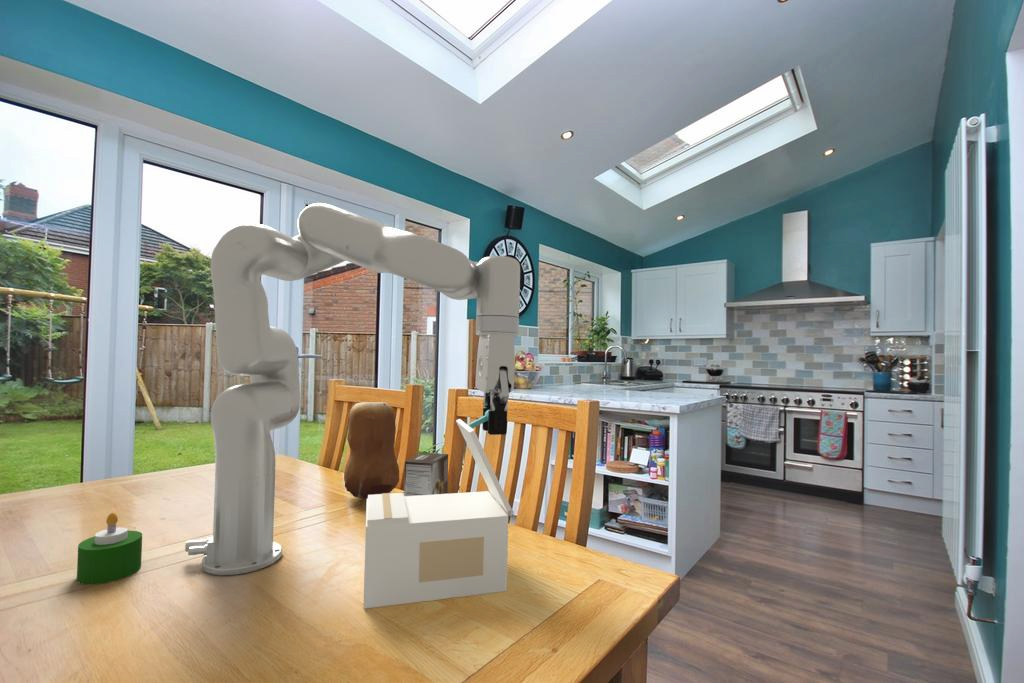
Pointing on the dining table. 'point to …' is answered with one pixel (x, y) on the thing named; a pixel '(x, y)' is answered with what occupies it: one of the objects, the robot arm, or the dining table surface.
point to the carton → (433, 547)
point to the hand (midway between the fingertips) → (494, 431)
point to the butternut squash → (371, 450)
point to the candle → (109, 554)
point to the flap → (484, 461)
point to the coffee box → (426, 475)
